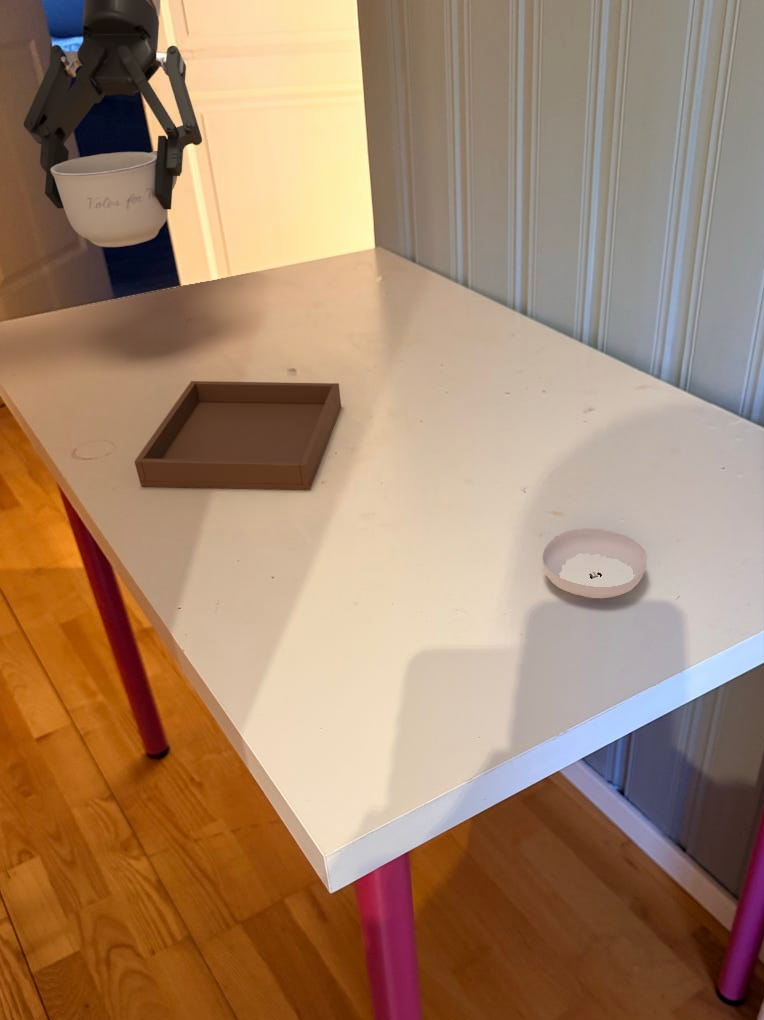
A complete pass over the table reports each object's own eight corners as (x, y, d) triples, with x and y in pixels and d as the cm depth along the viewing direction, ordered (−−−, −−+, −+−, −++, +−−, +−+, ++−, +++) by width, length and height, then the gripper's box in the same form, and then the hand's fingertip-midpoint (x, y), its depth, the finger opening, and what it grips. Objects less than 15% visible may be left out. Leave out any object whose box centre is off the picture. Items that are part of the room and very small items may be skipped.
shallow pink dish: (664, 594, 69) (667, 574, 67) (567, 617, 66) (569, 596, 65) (615, 540, 74) (617, 520, 73) (525, 560, 72) (525, 539, 71)
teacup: (100, 261, 94) (78, 176, 89) (53, 240, 100) (30, 159, 95) (217, 234, 101) (203, 154, 96) (167, 215, 107) (151, 139, 102)
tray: (140, 486, 82) (134, 461, 80) (195, 403, 95) (191, 380, 93) (309, 489, 81) (306, 464, 79) (341, 406, 94) (338, 383, 93)
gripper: (239, 35, 102) (229, 222, 100) (34, 34, 102) (18, 220, 100) (218, -20, 94) (206, 181, 92) (-3, -21, 95) (-21, 179, 93)
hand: (108, 201), depth 96 cm, fingers closed on teacup, 11 cm apart
